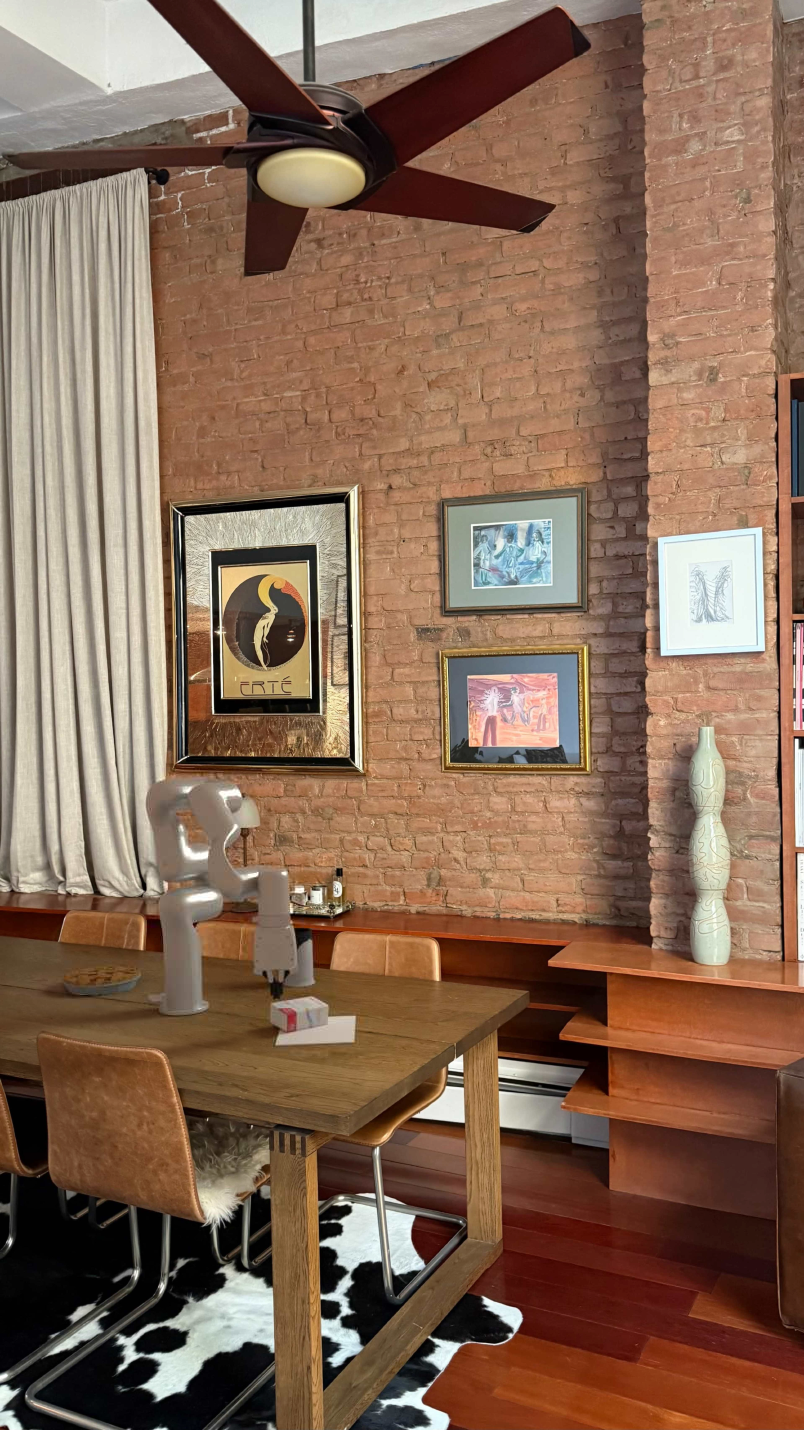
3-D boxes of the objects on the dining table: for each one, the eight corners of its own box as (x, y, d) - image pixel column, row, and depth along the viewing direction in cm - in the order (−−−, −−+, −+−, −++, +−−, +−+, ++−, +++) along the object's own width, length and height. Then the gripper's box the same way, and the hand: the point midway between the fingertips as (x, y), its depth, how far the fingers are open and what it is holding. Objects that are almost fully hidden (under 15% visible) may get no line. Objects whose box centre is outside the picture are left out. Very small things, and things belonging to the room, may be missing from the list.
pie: (138, 976, 325) (138, 959, 325) (145, 992, 304) (144, 974, 304) (61, 983, 318) (61, 966, 318) (62, 1001, 297) (62, 983, 297)
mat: (275, 1046, 250) (275, 1044, 250) (283, 1019, 272) (283, 1018, 272) (354, 1043, 250) (354, 1041, 250) (355, 1017, 272) (355, 1015, 272)
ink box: (285, 1033, 258) (328, 1026, 265) (286, 1012, 258) (329, 1005, 265) (268, 1022, 266) (310, 1015, 272) (269, 1001, 265) (311, 995, 272)
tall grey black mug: (302, 988, 303) (301, 934, 303) (262, 983, 311) (261, 930, 311) (321, 981, 311) (319, 928, 311) (281, 976, 318) (280, 925, 318)
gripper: (241, 925, 257) (243, 1003, 257) (304, 922, 257) (307, 1001, 257) (245, 919, 264) (247, 995, 264) (306, 917, 265) (309, 993, 264)
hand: (276, 997), depth 261 cm, fingers closed
